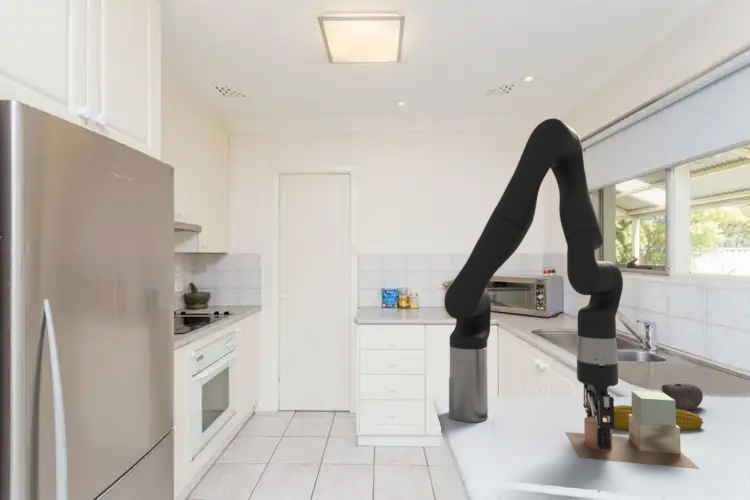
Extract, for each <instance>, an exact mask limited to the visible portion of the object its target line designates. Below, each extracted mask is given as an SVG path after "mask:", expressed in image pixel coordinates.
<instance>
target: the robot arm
mask: <svg viewBox="0 0 750 500" xmlns="http://www.w3.org/2000/svg"><path fill="white" fill-rule="evenodd" d="M532 130H533V131H532V132H531V134H530V135H529V137H528V139H527V142H526V143H525V146H524V149H523V151H522V152H521V153H522V154H521V156H520V158H519V160H518V163H517V165H516V168H515V170H514V172H513V174H512V176H511V177H510V180H509V182H508V183H507V185H506V187H505V189H504V191H503V193H502V195H501V196H500V198H499V201H498V202H497V204H496V206H495V207H494V209H493V211H492V213H491V214H490V217H489V219H488V220H487V222H486V223H485V225H484V228H483V230H482V232H481V234H480V236H479V237H478V240H477V241H476V243H475V245H474V247H473V249H472V250H471V252H470V255H469V256H468V258H467V260H466V261H465V263H464V265H463V267H462V268H461V269H460V271H459V273H458V274H457V275H456V277H455V278H454V279H453V281H452V282H451V284H450V286H449V287H448V288H447V291H446V292H445V295H444V300H443V301H444V308H445V312H446V313H447V314H448V316H449V317H451V318H452V319H454V320H456V321H455V326H454V329H453V331H452V332H451V333H450V335H449V378H448V419H454V420H456V421H457V420H458V421H461V422H469V423H477V422H483V421H486V420H487V419H488V411H489V407H488V406H489V405H488V340H489V336H490V335H491V334H490V332H491V319H492V318H491V315H492V314H491V312H492V310H491V309H492V307H491V306H492V305H491V297H490V293H489V291H488V289H487V286H488V285H489V283H490V282H491V279H492V278H493V276H494V275H495V274H496V273H497V271H498V270H499V269H500V268H501V267H502V266H503V265H504V264H505V263H506V262H507V261H508V260H509V259H510V258H511V256H513V254H514V253H515V252H516V251H517V249H518V248H519V246H521V243H522V242H523V241H524V239H525V237H526V235H527V234H528V232H529V230H530V228H531V226H532V225H533V221H534V218H535V214H536V210H537V202H538V195H539V192H540V187H541V185H542V183H543V181H544V179H545V177H546V175H547V174H548V173H549V170H550V169H551V171H552V173H553V175H554V178H555V181H556V184H557V186H558V187H557V188H558V195H559V202H558V203H559V205H558V211H559V220H560V226H561V229H562V232H563V236H564V239H565V242H566V244H567V245H566V246H567V250H566V256H567V257H566V272H567V273H566V274H567V279H568V282H569V284H570V286H571V288H572V289H573V290H574V291H575V292H576V293H578V294H579V295H583V296H590V297H589V298H590V299H589V302H588V303H587V305H586V306H584V307H581V308H580V309H579V310H578V311H577V341H576V378H577V379H576V380H577V381H578V382H580V383H581V384H583V405H582V406H583V407H584V409H585V410H584V412H585V414H586V417H595V419H596V426H597V446H598V447H599V448H600V449H610V448H611V441H610V430H612V431H613V430H615V429H614V428H615V425H614V406H615V405H614V403H615V399H614V397H613V396H611V394H609V391H608V388H609V387H615V386H617V385H618V384H619V362H618V361H619V358H618V357H619V356H618V355H619V354H618V353H619V352H618V344H617V326H616V325H617V323H616V317H617V316H616V315H617V312H618V310H619V306H620V303H621V302H620V301H621V296H622V293H623V287H624V279H623V278H624V277H623V275H622V271H621V270H620V267H619V266H618V265H616V264H615V262H612V261H609V260H608V261H607V260H596V253H595V252H596V250H598V249H601V247H602V246H603V243H604V238H603V234H602V231H601V230H602V229H601V227H600V224H599V220H598V218H597V215H596V212H595V208H594V205H593V202H592V198H591V194H590V190H589V187H588V186H589V185H588V181H587V176H586V169H585V163H584V162H585V161H584V153H583V152H584V151H583V145H582V139H581V137H580V135H579V134H578V132H576V131H575V129H573V128H572V127H570V126H569V125H568V124H566V123H565V122H563V121H562V120H560V119H558V118H548V119H545V120H543V121H541V122H540V123H539V124H538V125H536V127H535V128H534V129H532ZM603 418H604V419H606V420H607V422H603Z"/></svg>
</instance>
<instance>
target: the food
mask: <svg viewBox="0 0 750 500" xmlns="http://www.w3.org/2000/svg"><path fill="white" fill-rule="evenodd" d="M629 414H632V405H626V404H625V405H622V404H621V405H614V425H615V428H614V429H613V430H619V431H629ZM703 420H704V419H703V418H702V417H700V415H698V414H697V413H694V412H691V411H690V410H687V411H685V410H680V409H676V425H677V426H678V427H680V431H691V430H692V431H694V430H699V429H701V427H702V425H703V424H704V421H703Z"/></svg>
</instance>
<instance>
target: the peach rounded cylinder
mask: <svg viewBox="0 0 750 500" xmlns="http://www.w3.org/2000/svg"><path fill="white" fill-rule="evenodd" d="M603 422H607V420H606V418H603ZM583 426H584V431H583V432H584V434H585V446H587V447H588V448H591V449H594V450H599V451H610V450H612V436H613V429H612V430H610V441H611V448H610V449H600V448H599V447H598V446H597V426H596V419H595V417H587V416H586V417H585V418H584V425H583Z"/></svg>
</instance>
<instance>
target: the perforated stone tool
mask: <svg viewBox="0 0 750 500" xmlns="http://www.w3.org/2000/svg"><path fill="white" fill-rule="evenodd" d="M661 391H662V392H661V393H665V394H666V395H668V396H669V397H671V398H672V399H674V400H675V407H676V409H680V410H685V411H690V410H694V409H696V408H698V407H699V406H700V405H701V403H702V401H703V399H704V396H703V395H704V394H703V392H702V391H703V390H702V389H701V388H699V387H698V386H696V385H693V384H689V383H674V384H673V383H672V384H671V383H668V384H662V385H661Z"/></svg>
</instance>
